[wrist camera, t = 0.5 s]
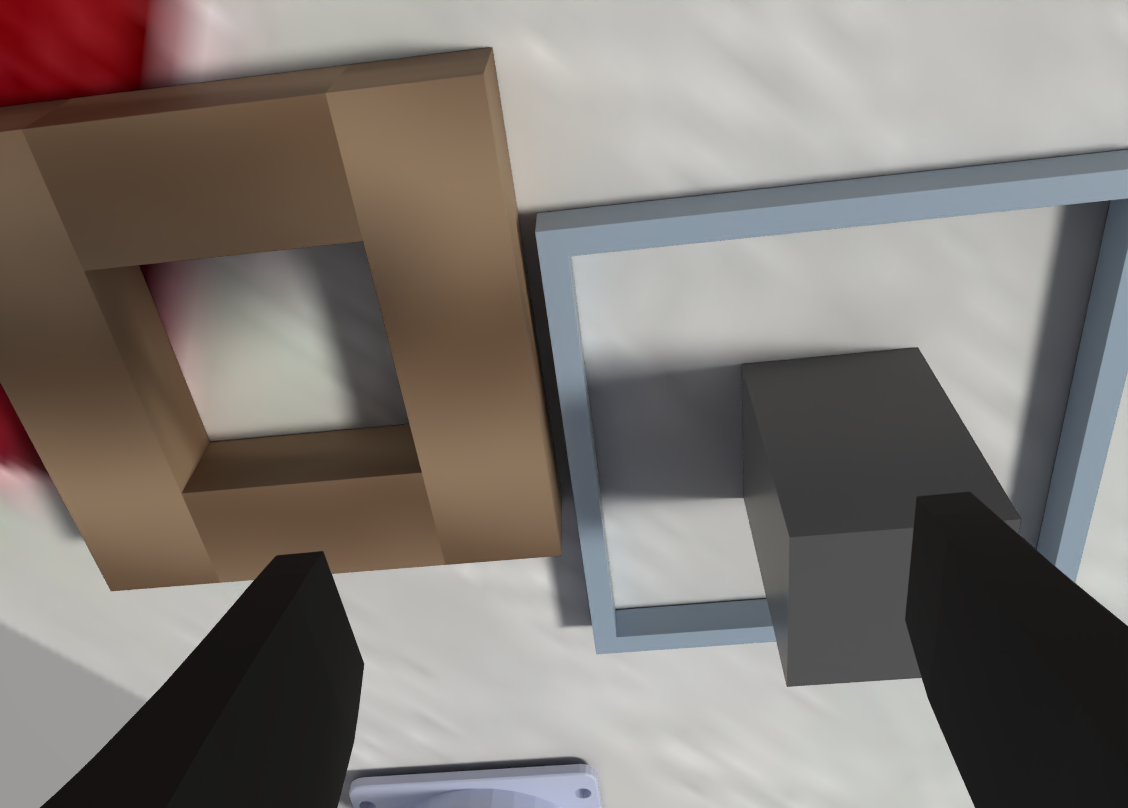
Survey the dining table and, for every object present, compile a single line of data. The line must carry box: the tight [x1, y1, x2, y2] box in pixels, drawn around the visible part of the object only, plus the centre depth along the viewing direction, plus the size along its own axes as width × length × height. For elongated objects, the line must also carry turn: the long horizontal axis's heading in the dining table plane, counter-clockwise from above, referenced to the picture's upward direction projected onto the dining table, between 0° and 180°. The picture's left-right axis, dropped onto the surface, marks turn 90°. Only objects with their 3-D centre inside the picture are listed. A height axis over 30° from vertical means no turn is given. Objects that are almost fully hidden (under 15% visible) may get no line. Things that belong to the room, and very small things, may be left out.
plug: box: [741, 347, 1021, 687], centre depth 20 cm, size 4×4×6 cm
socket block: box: [0, 47, 562, 591], centre depth 20 cm, size 11×11×2 cm
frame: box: [535, 150, 1128, 654], centre depth 22 cm, size 12×12×1 cm
